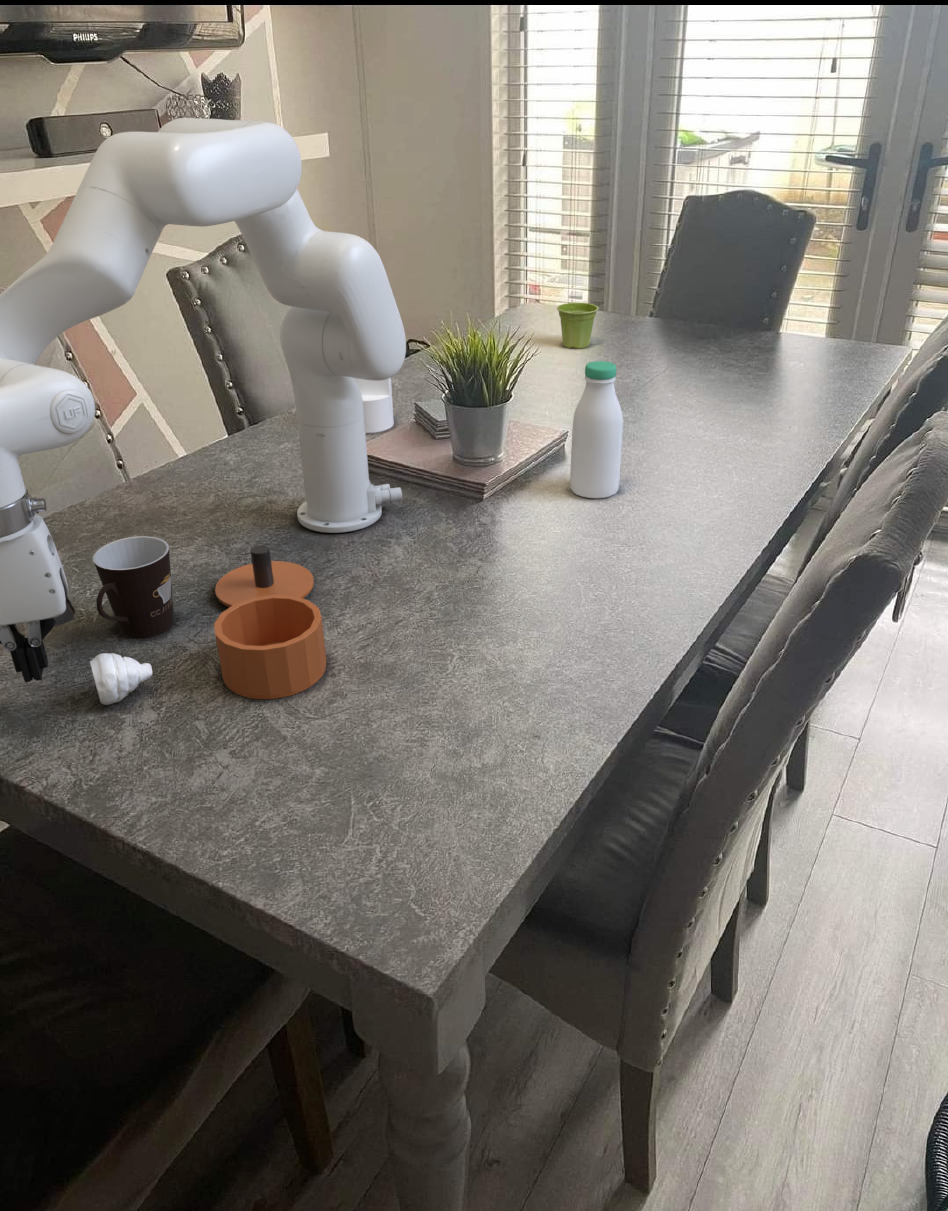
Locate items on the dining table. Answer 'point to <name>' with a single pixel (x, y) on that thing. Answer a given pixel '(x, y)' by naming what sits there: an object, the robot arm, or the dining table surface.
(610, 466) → the milk bottle
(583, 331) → the plant pot
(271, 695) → the pot
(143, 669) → the white whipped cream swirl
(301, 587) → the pot lid
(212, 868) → the dining table surface
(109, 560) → the coffee mug
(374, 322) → the robot arm
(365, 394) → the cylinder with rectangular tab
